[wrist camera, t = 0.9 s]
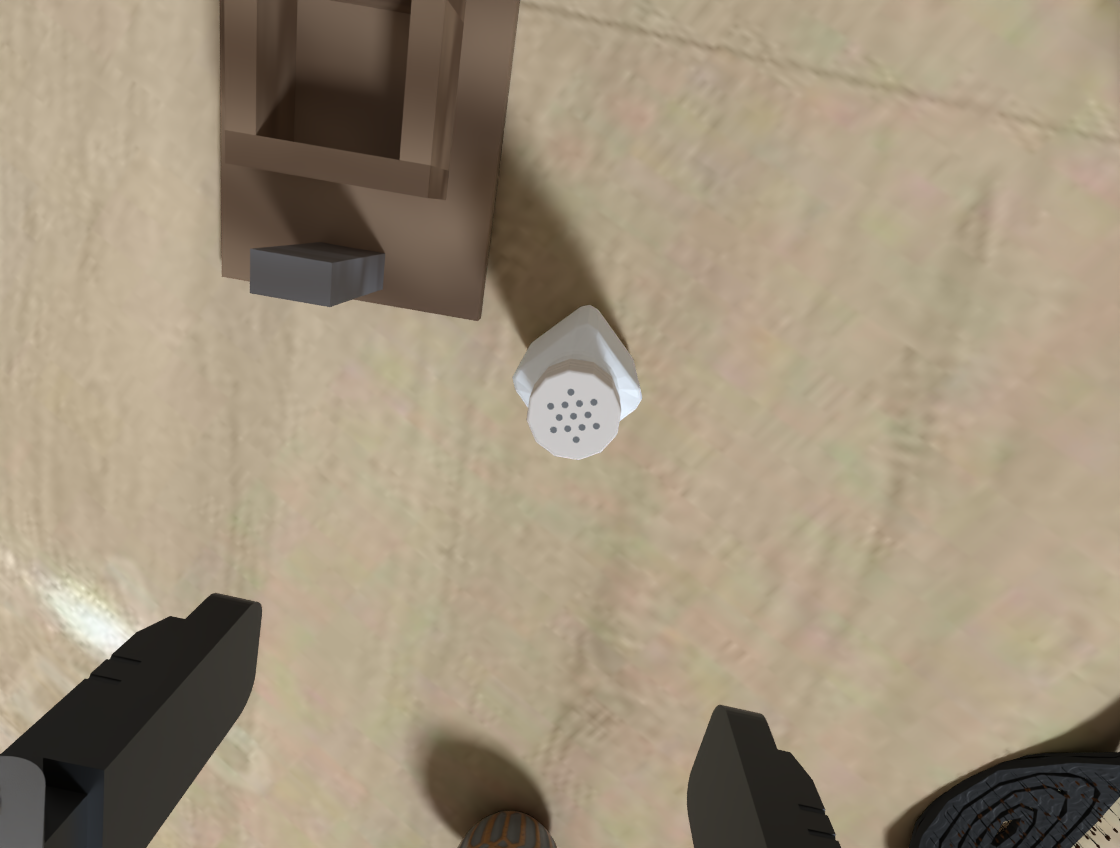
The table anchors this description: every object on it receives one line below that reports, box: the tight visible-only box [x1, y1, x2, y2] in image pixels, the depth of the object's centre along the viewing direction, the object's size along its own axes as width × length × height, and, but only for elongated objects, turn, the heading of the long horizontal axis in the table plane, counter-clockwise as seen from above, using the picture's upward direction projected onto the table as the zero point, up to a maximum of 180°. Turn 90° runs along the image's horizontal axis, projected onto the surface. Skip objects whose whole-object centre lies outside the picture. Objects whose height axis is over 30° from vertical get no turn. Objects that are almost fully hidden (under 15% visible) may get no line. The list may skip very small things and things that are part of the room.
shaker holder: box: [220, 0, 520, 321], centre depth 24 cm, size 18×12×7 cm, turn 171°
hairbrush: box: [909, 752, 1120, 848], centre depth 35 cm, size 8×4×25 cm
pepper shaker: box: [513, 305, 642, 460], centre depth 26 cm, size 4×4×10 cm
